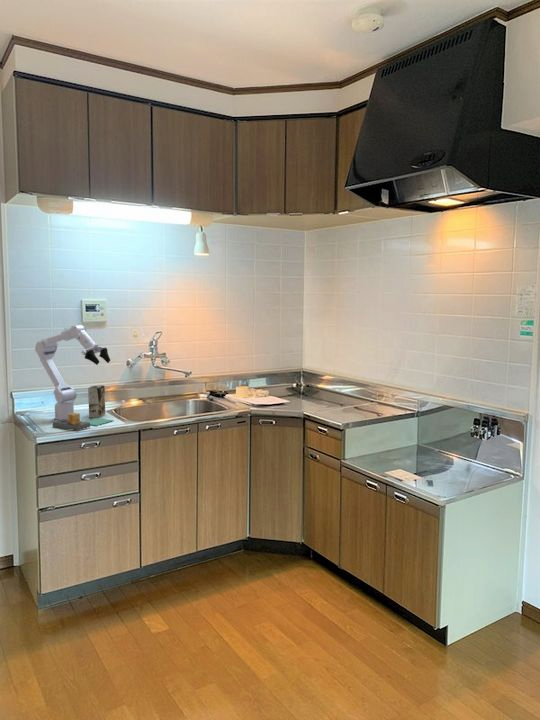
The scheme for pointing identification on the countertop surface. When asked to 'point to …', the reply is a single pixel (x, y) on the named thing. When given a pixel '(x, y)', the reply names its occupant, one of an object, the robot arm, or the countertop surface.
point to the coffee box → (96, 401)
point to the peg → (73, 418)
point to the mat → (98, 421)
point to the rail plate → (70, 425)
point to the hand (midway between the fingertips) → (103, 362)
